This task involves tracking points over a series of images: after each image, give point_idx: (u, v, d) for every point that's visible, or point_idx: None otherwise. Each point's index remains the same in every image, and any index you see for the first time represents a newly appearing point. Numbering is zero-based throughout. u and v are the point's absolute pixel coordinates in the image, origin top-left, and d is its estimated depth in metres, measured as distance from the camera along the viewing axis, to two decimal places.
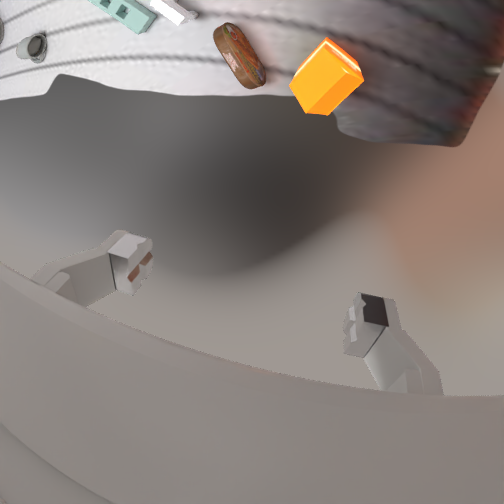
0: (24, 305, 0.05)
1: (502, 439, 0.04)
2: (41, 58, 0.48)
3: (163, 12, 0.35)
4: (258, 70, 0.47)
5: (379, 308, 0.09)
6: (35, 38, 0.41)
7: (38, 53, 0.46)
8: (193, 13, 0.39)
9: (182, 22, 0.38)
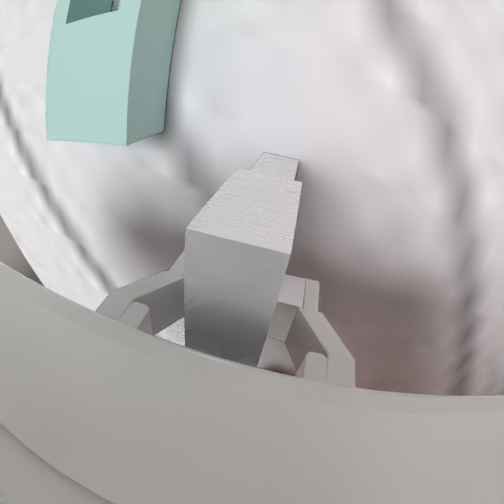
0: (24, 305, 0.05)
1: (502, 439, 0.04)
2: None
3: None
4: None
5: (296, 288, 0.09)
6: None
7: None
8: None
9: None
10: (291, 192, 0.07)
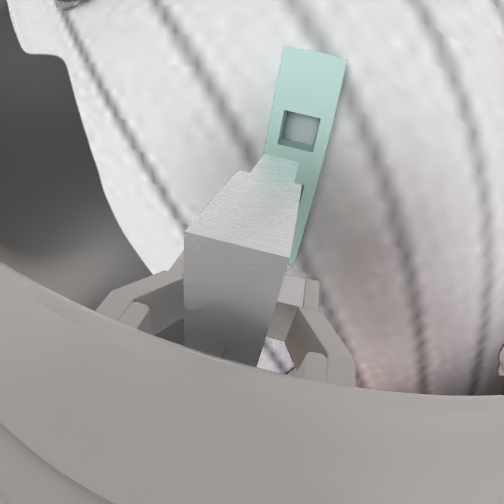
0: (24, 305, 0.05)
1: (502, 439, 0.04)
2: (65, 6, 0.17)
3: None
4: None
5: (296, 288, 0.09)
6: None
7: None
8: None
9: None
10: (290, 195, 0.08)
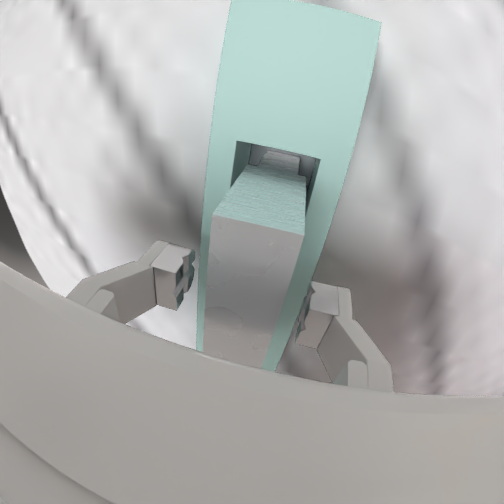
0: (24, 305, 0.05)
1: (502, 439, 0.04)
2: None
3: (214, 330, 0.08)
4: None
5: (330, 296, 0.09)
6: None
7: None
8: None
9: None
10: (297, 185, 0.08)
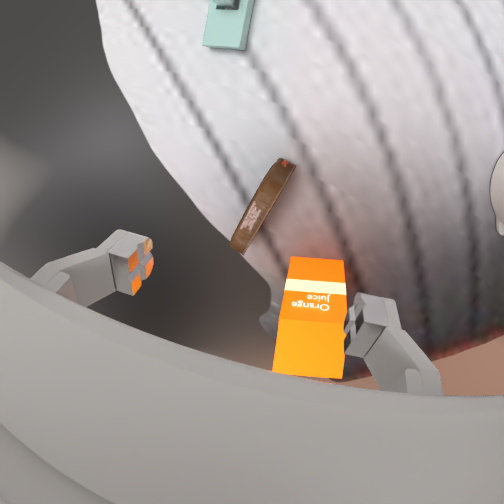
0: (24, 305, 0.05)
1: (502, 439, 0.04)
2: None
3: None
4: None
5: (379, 308, 0.09)
6: None
7: None
8: (236, 4, 0.26)
9: (215, 0, 0.23)
10: None
